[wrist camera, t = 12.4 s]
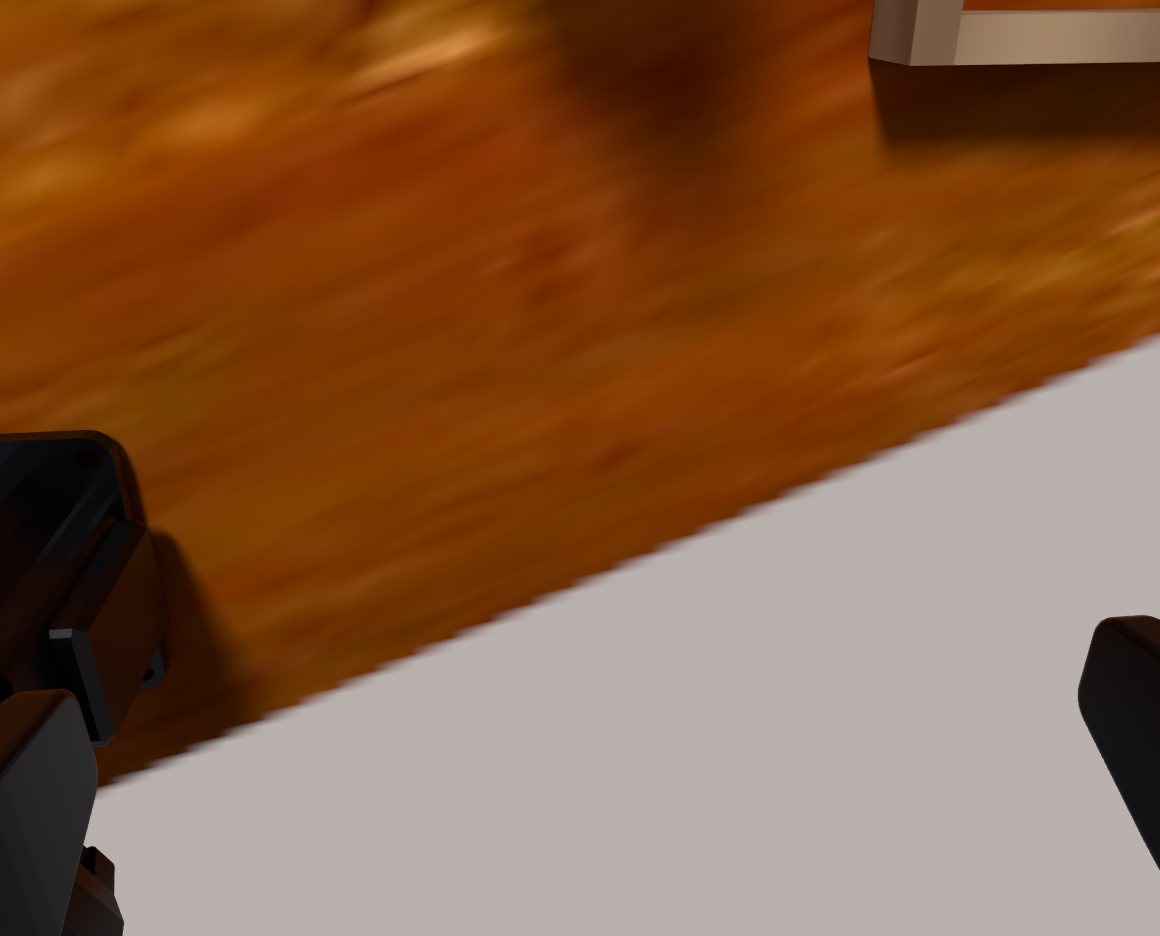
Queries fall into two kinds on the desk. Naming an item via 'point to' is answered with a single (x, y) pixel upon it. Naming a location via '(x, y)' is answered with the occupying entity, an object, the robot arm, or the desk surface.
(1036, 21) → the walnut collar
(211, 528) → the desk surface
